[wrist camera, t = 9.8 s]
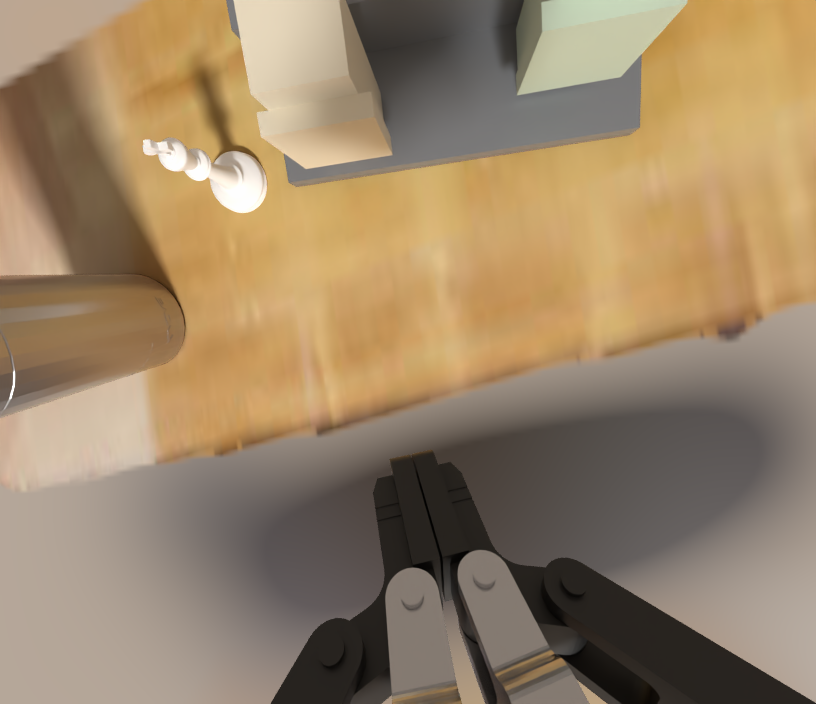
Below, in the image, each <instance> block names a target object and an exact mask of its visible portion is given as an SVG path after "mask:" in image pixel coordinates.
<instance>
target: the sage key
mask: <svg viewBox="0 0 816 704" xmlns="http://www.w3.org/2000/svg"><path fill="white" fill-rule="evenodd" d="M686 4H687V0H524V3H523V6H522V10H521V13H520V17H519V20H518V24H517V27H516V42H517V66H518V70H517V73H516V86H517V95H522V94H528V93H533V92H539V91H545V90H550V89H556V88H562V87H567V86H573V85H579V84H584V83H590V82H596V81H601V80H607V79H613V78H618V77H621V76H622V75H623V74H624V73H625V72H626V71H627V70H628V68H629V67H630V66H631V65H632V64H633V63H634V62H635V61H636V60H637V58H638V57H639V56H640V55H641V54H642V53H643V52H644V51H645V50H646V48H647V47H648V46H649V45H650V44H651V43H652V42H653V41H654V40H655V38H656V37H657V36H658V35H659V34H660V33H661V32H662V31H663V30H664V28H665V27H666V26H667V25H668V24H669V23H670V22H671V21H672V19H673V18H674V17H675V16H676V15H677V14H678V13H679V12H680V11H681V9H682V8H683V7H684V6H685V5H686Z"/></svg>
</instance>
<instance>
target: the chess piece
mask: <svg viewBox="0 0 816 704" xmlns="http://www.w3.org/2000/svg"><path fill="white" fill-rule="evenodd" d="M143 143H144V146H142V147H143V151H144V153H145V154H147V155H155V154H158V156H159V159H160V161H161V163H162V165H163V166H164V167H165V168H167V169H169V170H171V171H183V170H184V171H185V173H186V174H187V175H188V176H189V177H190V178H192V179H193V180H196V181H202V180H204V179H206V178H207V177H208V178H209V179H210V183H211V188H212V191H213V193H214V195H215V197H216V198H217V200H218V201H219V202H220V203H221V204H222V205H224V206H225V207H227V208H228V209H230V210H232V211H235V212H238V213H247V212H251V211H253V210H255V209H256V208H257V207H259V206H260V204H261V203H262V202H263V200H264V198H265V195H266V191H267V179H266V175H265V172H264V170H263V168H262V166H261V165H260V163H259V162H258V161H257V160H256V159H255V158H254V157H252V156H250V155H249V154H246V153H243V152H239V151H229V152H226V153H224V154H222V155H221V156H219V157H218V158H217V159H216V161H215V162H214V163H211V161H210V158H209V157H208V155H207V154H206V153H205V152H204V151H202V150H200V149H189V150H188V149H187V147H186V146H185V145H184V144H183V143H182V142H181V141H179V140H178V139H175V138H166V139H164V140H163V141H162V142H159V143H157V142H154V141H152V140H150V139H148V140H143Z"/></svg>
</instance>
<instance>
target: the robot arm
mask: <svg viewBox="0 0 816 704" xmlns="http://www.w3.org/2000/svg"><path fill="white" fill-rule="evenodd" d="M184 333H185V325H184V319H183V315H182V312H181V309H180V307H179V305H178V303H177V301H176V300H175V298H174V297H173V296H172V294H171V293H170V292H169V291H168V290H167V289H166V288H165V287H164V286H163V285H161V284H160V283H159V282H157V281H155V280H153V279H152V278H149V277H146V276H143V275H137V274H81V275H10V276H0V418H2V417H5V416H8V415H11V414H14V413H17V412H20V411H23V410H26V409H29V408H32V407H36V406H39V405H42V404H45V403H48V402H51V401H54V400H57V399H60V398H63V397H66V396H69V395H72V394H75V393H78V392H81V391H84V390H87V389H90V388H93V387H96V386H99V385H102V384H105V383H108V382H111V381H114V380H117V379H120V378H123V377H126V376H130V375H133V374H136V373H138V372H141V371H144V370H147V369H150V368H153V367H156V366H159V365H162V364H165V363H167V362H168V361H170V360H171V359H173V358H174V356H175V355H176V354H177V353H178V352H179V350H180V348H181V346H182V343H183V340H184ZM411 457H412V458H411ZM390 465H391V472H392V475H391V476H387V477H382V478H378V479H377V482H376V485H375V489H374V492H373V495H374V502H375V509H376V515H377V522H378V530H379V536H380V543H381V550H382V557H383V564H384V572H385V578H384V584H383V588H382V590H381V592H380V594H379V596H378V597H377V599H376V600H375V601H374V602H373V603H372V605H370V606H369V607H368V608H367V609H366V610H364V611H363V612H361V613H360V614H358V615H357V616H355V617H354V618H353V619H351V620H350V621H349V620H346V619H342V618H335V619H331V620H328V621H326V622H324V623H323V624H321V625H320V626H319V627H318V628H317V629H316V630H315V631H314V632H313V633H312V635H311V636H310V638H309V640H308V642H307V643H306V645H305V646H304V648H303V650H302V651H301V653H300V655H299V656H298V658H297V660H296V662H295V663H294V665H293V667H292V668H291V670H290V672H289V674H288V675H287V677H286V679H285V680H284V682H283V684H282V685H281V687H280V689H279V690H278V692H277V694H276V695H275V697H274V699H273V701H272V702H271V704H382V703H383V702H384V701H385V700H386V699H387V698H389V697H390V696H391V695H392V704H462V703H461V698H460V694H459V692H458V688H457V683H456V678H455V673H454V668H453V663H452V657H451V652H450V647H449V642H448V636H447V631H446V626H445V621H444V616H443V604H442V602H443V598H442V592H443V596H444V600H445V601H449V600H452V599H453V601H454V605H455V608H456V612H457V615H458V624H459V630H460V634H461V636H462V639H463V642H464V645H465V648H466V650H467V653H468V656H469V659H470V662H471V664H472V668H473V670H474V673H475V676H476V679H477V682H478V685H479V687H480V690H481V693H482V696H483V699H484V702H485V704H589V702H588V701H587V698H586V696H585V695H584V693H583V691H582V689H581V687H580V686H579V684H578V682H577V680H578V681H579V682H581V683H582V684H583V685H585V686H586V687H587V688H588V689H589V690H591V691H592V692H593V693H595V694H596V695H597V696H598V697H600V698H601V699H602V700H603V701H605V702H606V703H608V704H816V703H815V702H813V701H811V700H810V699H808V698H806V697H805V696H803V695H801V694H800V693H798V692H796V691H795V690H793V689H791V688H790V687H788V686H786V685H785V684H783V683H781V682H780V681H778V680H776V679H774V678H773V677H771V676H769V675H768V674H766V673H765V672H763V671H761V670H760V669H758V668H756V667H755V666H753V665H751V664H750V663H748V662H746V661H744V660H743V659H741V658H740V657H738V656H736V655H734V654H733V653H731V652H729V651H728V650H726V649H725V648H723V647H721V646H719V645H718V644H716V643H714V642H713V641H711V640H710V639H708V638H706V637H704V636H703V635H701V634H699V633H698V632H696V631H694V630H692V629H691V628H689V627H688V626H686V625H684V624H683V623H681V622H679V621H678V620H676V619H674V618H673V617H671V616H669V615H668V614H666V613H664V612H663V611H661V610H659V609H658V608H656V607H654V606H652V605H651V604H649V603H648V602H646V601H644V600H643V599H641V598H639V597H637V596H636V595H634V594H633V593H631V592H629V591H628V590H626V589H624V588H622V587H621V586H619V585H617V584H616V583H614V582H613V581H611V580H609V579H607V578H606V577H604V576H602V575H601V574H599V573H597V572H596V571H594V570H592V569H591V568H589V567H587V566H586V565H584V564H582V563H581V562H578V561H577V560H574V559H570V558H558V559H555V560H553V561H551V562H550V563H549V564H548V565H547V567H546V568H544V567H534V566H524V565H518V564H515V563H512V562H510V561H508V560H506V559H505V558H503V557H502V556H501V555H500V554H499V553H498V552H497V551H496V550H495V548H494V547H493V545H492V543H491V541H490V539H489V536H488V534H487V532H486V529H485V527H484V525H483V522H482V520H481V518H480V515H479V513H478V511H477V508H476V506H475V504H474V501H473V500H472V497H471V494H470V492H469V490H468V488H467V485H466V483H465V480H464V478H463V476H462V473H461V472H460V471H459V470H458V469H457V468H456V467H455V466H454V465H453V464H452V463H451V462H448V463H444V464H440V465H438V463H437V460H436V458H435V455H434V453H433V451H432V450H428V451H424V452H419V453H415V454H412V455H407V456H402V457H397V458H392V459H390ZM576 679H577V680H576Z"/></svg>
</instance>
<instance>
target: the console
mask: <svg viewBox="0 0 816 704" xmlns="http://www.w3.org/2000/svg"><path fill="white" fill-rule="evenodd" d="M226 2H227V7H228V12H229V18H230V23H231V28H232V31H233V32H234V33H235V34H236V35H237V36H238V38H239V39H240V33H239V28H238V22H237V17H236V12H235V6H234V1H233V0H226ZM346 2H347V5H348V8H349V10H350V13H351V16H352V18H353V21H354V24H355V26H356V29H357V32H358V34H359V37H360V40H361V42H362V45H363V48H364V50H365V53H366V55H367V58H368V61H369V63H370V66H371V69H372V71H373V74H374V77H375V79H376V82H377V85H378V87H379V90H380V93H381V101H382V110H383V118H384V122H385V124H386V127H387V129H388V132H389V134H390V136H391V145H392V154H393V155H390V156H384V157H378V158H372V159H366V160H359V161H353V162H347V163H341V164H335V165H328V166H322V167H316V168H310V169H305V168H304V167H302V166H301V165H300V164H298V163H297V162H295V161H294V160H293V159H291V158H290V157H288V156H287V155H286V154H284V158H285V163H286V169H287V175H288V181H289V183H290V184H292V185H294V186H296V187H299V186H306V185H312V184H318V183H325V182H331V181H338V180H344V179H351V178H357V177H363V176H370V175H376V174H383V173H389V172H396V171H402V170H408V169H415V168H421V167H428V166H434V165H441V164H447V163H453V162H460V161H466V160H473V159H479V158H485V157H492V156H498V155H505V154H511V153H518V152H524V151H530V150H537V149H543V148H550V147H556V146H563V145H569V144H575V143H582V142H588V141H595V140H601V139H608V138H614V137H620V136H627V135H630V134H632V133H633V132H634V131H636V130H637V129H638V128H640V98H641V56H642V54H641V55H640V56H639V57H638V58H637V60H636V61H635V62H634V63H633V64H632V65H631V66H630V67H629V68H628V70H627V71H626V72H625V73H624V74H623V75H622V76H621V77H618V78H613V79H607V80H601V81H596V82H590V83H584V84H579V85H573V86H567V87H562V88H556V89H550V90H545V91H539V92H533V93H528V94H522V95H517V86H516V73H517V70H518V66H517V42H516V27H517V24H518V20H519V17H520V13H521V10H522V6H523V3H524V0H346ZM240 40H241V39H240Z"/></svg>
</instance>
